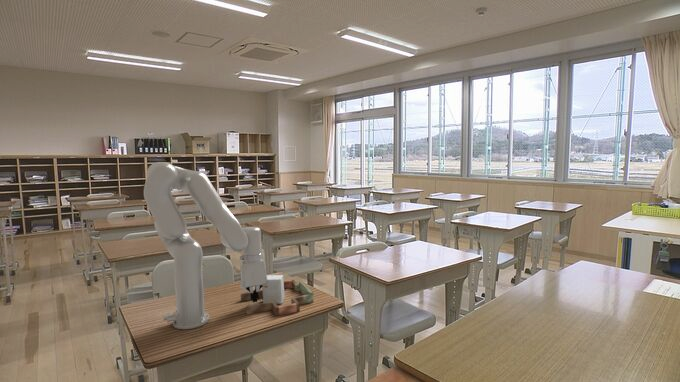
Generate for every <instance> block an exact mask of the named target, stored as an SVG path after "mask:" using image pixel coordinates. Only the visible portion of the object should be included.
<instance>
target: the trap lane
mask: <svg viewBox="0 0 680 382" xmlns="http://www.w3.org/2000/svg"><path fill="white" fill-rule="evenodd" d="M288 288H289V289H290V288H293V290H294V291H295V292H301V293H302V295H299V296H293V297H290V304H284V305H279V304H276V303H275V301H270V302H265V303H263V302H261V303H254V304H248V305H246V307H245V308H246V315H252V314H256V313H257V314H258V313H262V312H267V311H272V312H273V313H274V315H275V316H282V315H286V314H293V313H297V312H300V311H301V310H300V309H301V308H300V305H303V304H304V305H305V304H308V303H309V304H310V303H314V300H315V299H314V292H313V291H312V290H311V289H310V288H309V287H308V285H306V284H305V283H304V281H301V280H299V281H298V282H297V281H295V279H290V280H284V289H288ZM258 297H259V299H261V298H262V299H263V291H262V289H260V290H259V292H258ZM250 300H251V297H250V292H249V291H247V292H240V301H241V302H243V301H244V302H245V301H250ZM251 301H252V300H251Z"/></svg>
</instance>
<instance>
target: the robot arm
mask: <svg viewBox="0 0 680 382" xmlns="http://www.w3.org/2000/svg"><path fill="white" fill-rule="evenodd" d="M146 176H147V178H146V181H145V183H144V187H143V198H144V201H145V204H146V206H147V208H148V210H149V212H150V214H151V216H152V218H153V219H154V220H153V221H154V223H153V225H154V229H155V230H156V234H157V235H158V236H159V238H160V240H161V242H162V243H163V245H164V247H165V249H166V250H167V252H168V254H169V255H170V256H171V257H172V259H173V262H174V263H173V265H174V267H173V271H174V272H173V278H174V290H175V292H174V294H175V305H176V308H175V312H172V313H170V314H163V321H166V323H169V322H170V323H171V322H172V326H173V327H174V328H175V329H178V330H191V329H196V328H200V327H202V326H204V325H206V324H207V323H208V322H209V321H210V314H209V313H207V312H205V298H204V297H205V296H204V295H205V294H204V279H203V261H204V260H203V259H204V257H203V256H204V255H203V248H202V246H201V244H200V243H199V242H198V241H197V240H196V239H194V238H193V237H192V235H190V233H189V231H188V225H187V221H186V219H185V217H184V216H183V214H182V212H181V210H180V208H179V207H178V205H177V203H176V201H175V198H174V197H173V193H172V190H177V191H180V192H185V193H188V194H189V195H190V197H191V199H192V200H193V201H194V204H196V206H197V208H198V209H199V210H200V213H201V214H202V216H204V218H206V220H207V221H208V222H210V223H211V224H212V225H213V226H215V228H216V229H217V230H218V231H219V233H220V237H219V239H220V242H221V244H222V245H223V246H224V247H225V248H227V249H229V250H231V251H233V252H237V253H239V252H242V254H241V255H238V258H239V261H240V260H241V263H240V289H241V290H246V291H247V292H250V297H251V301H252V303H257V302H258V300H259V299H260V298H259V297H258V292H259V290H262V285H264V284H266V283H267V275H268V274H267V268H266V267H267V266H266V262H265V259H264V258H263V252H262V251H263V250H262V248H263V247H262V231H261V228H260V227H258V226H247V227H242V226H241V224H240V222H239V221H238V219H237V218H236V216H234V214H233V213H232V212H231V210H230V209H229V207H227V205H226V204H225V202H224V201H223V200H222V198H221V197H220V194H219V193H218V191H217V190H216V189H215V187H214V185H213V184H212V182H211V181H210V179H209V178H208V176H207V175H206V174H205V173H203V172H202V171H197V170H192V169H186V168H182V167H179V166H176V165H173V164H172V163H170V162H166V161H158V162H154V163H152V164H150V165H149V166H148V168H147V171H146ZM253 287H254V289H253Z"/></svg>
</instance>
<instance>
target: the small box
mask: <svg viewBox="0 0 680 382" xmlns="http://www.w3.org/2000/svg"><path fill="white" fill-rule="evenodd" d="M284 281H285V280H284V275H283V274H276V275H275V274H273V275H270V274H267V283H266V284H264V285H262V288H261V290H262V291H263V297H262V303H265V302H270V301H275V303H276V304H277V305H280V304H283V302H284V299H285V288H284Z"/></svg>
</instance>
